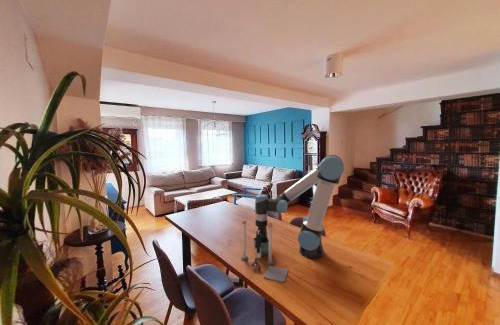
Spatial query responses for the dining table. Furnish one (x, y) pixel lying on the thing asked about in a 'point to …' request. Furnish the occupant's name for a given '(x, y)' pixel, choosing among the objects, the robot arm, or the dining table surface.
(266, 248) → the flower pot
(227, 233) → the dining table surface
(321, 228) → the robot arm
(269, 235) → the post
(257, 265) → the bent rail
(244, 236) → the post
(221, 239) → the dining table surface
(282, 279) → the tile
